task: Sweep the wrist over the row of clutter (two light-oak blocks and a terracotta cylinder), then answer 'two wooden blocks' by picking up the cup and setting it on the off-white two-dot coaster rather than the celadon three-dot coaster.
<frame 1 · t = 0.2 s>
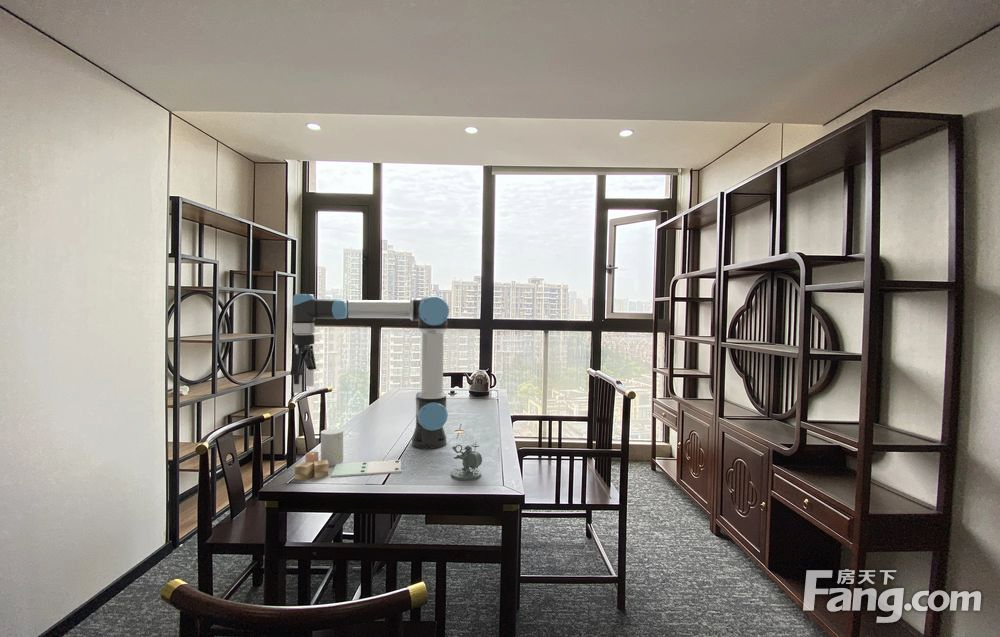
hand: (303, 389, 173), 28 cm above the table, fingers open, 13 cm apart
cup: (332, 462, 174), on the table
pad two: (384, 467, 168), on the table
figurine: (466, 476, 162), on the table
pad three: (350, 469, 166), on the table
oak block b: (304, 477, 159), on the table
oak block a: (321, 475, 161), on the table
terracotta cylinder: (311, 469, 166), on the table
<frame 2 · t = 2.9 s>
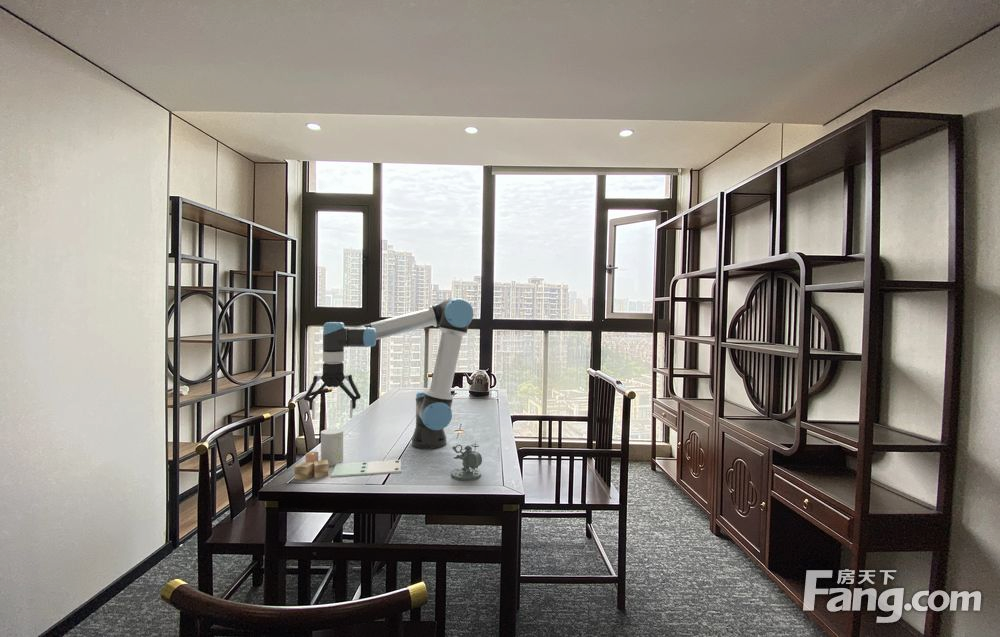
hand: (332, 417, 172), 17 cm above the table, fingers open, 13 cm apart
nothing on the table moved.
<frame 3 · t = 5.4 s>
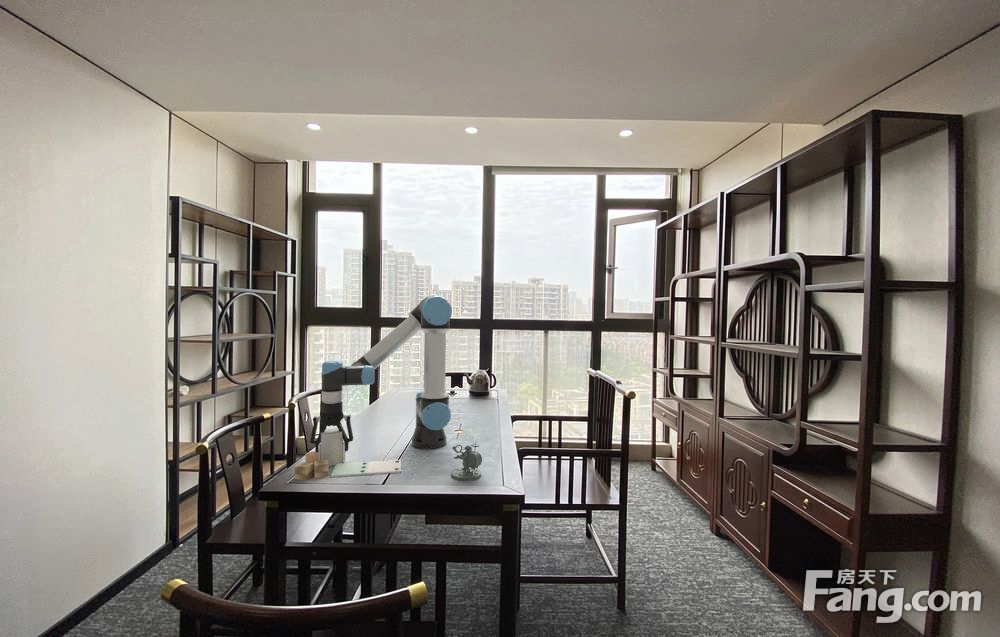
hand: (332, 460, 174), 1 cm above the table, fingers closed on cup, 8 cm apart
cup: (332, 462, 174), on the table, touching gripper
everything else where it was.
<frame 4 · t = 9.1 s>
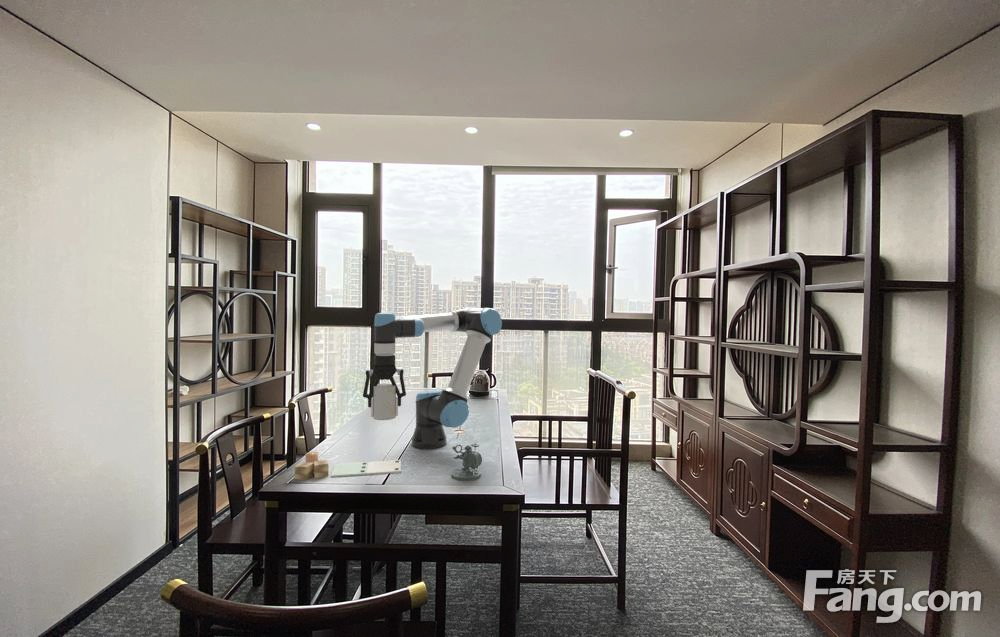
hand: (384, 415, 168), 20 cm above the table, fingers closed on cup, 8 cm apart
cup: (384, 418, 168), point 19 cm above the table, touching gripper
everything else where it was.
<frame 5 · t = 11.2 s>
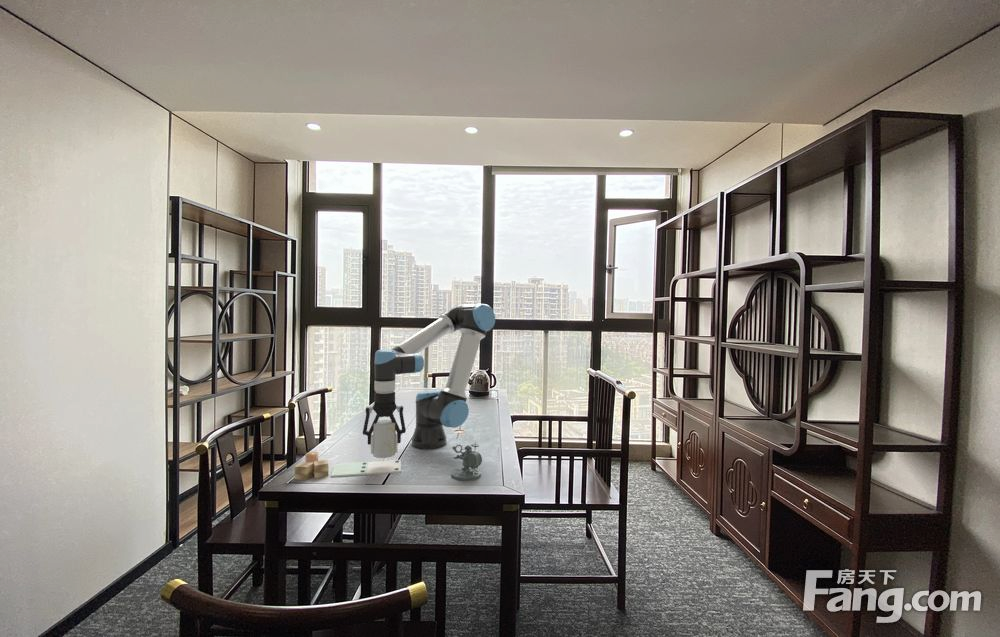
hand: (384, 452, 168), 6 cm above the table, fingers closed on cup, 8 cm apart
cup: (384, 454, 168), point 5 cm above the table, touching gripper
everything else where it was.
when the fingers open (3 cm above the table, at t = 12.9 s): cup drops 1 cm, resting on pad two.
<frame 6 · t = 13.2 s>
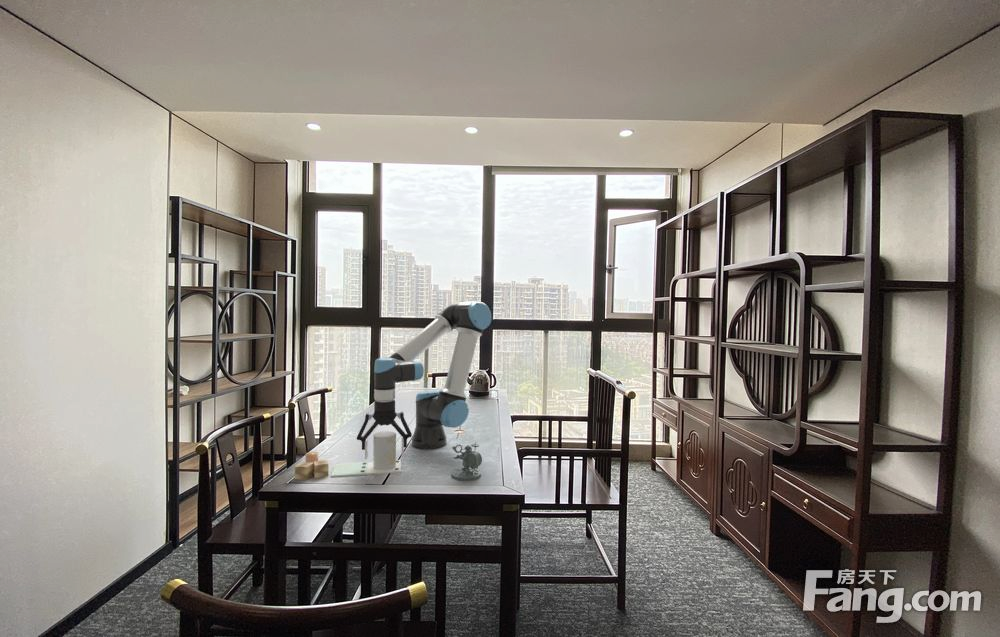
hand: (384, 457, 168), 4 cm above the table, fingers open, 12 cm apart
cup: (384, 466, 168), resting on pad two
everything else where it was.
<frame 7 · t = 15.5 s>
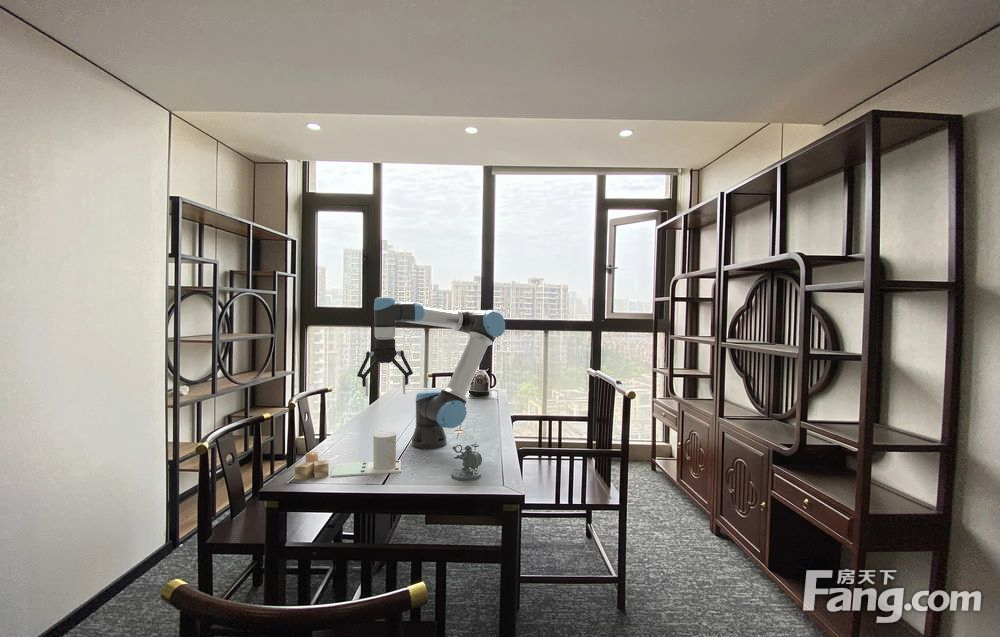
hand: (385, 394, 170), 27 cm above the table, fingers open, 13 cm apart
nothing on the table moved.
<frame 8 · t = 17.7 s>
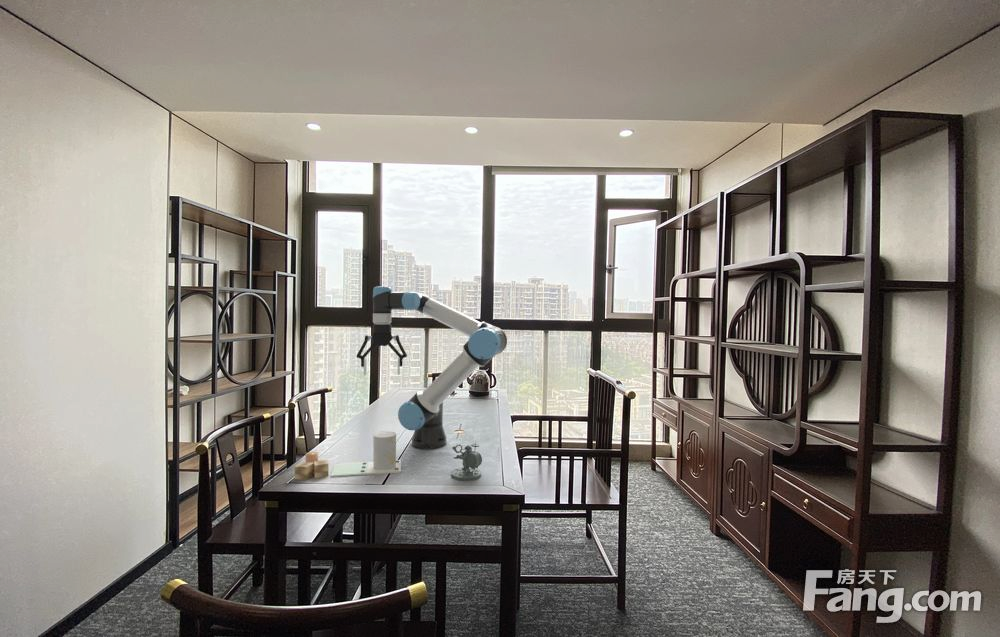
hand: (382, 374, 188), 32 cm above the table, fingers open, 13 cm apart
nothing on the table moved.
at the end: cup inside the target area on the pad two (0.1 cm from its centre), point 0.4 cm above the pad two's base; cup tilted 0°; the gripper is holding nothing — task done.
